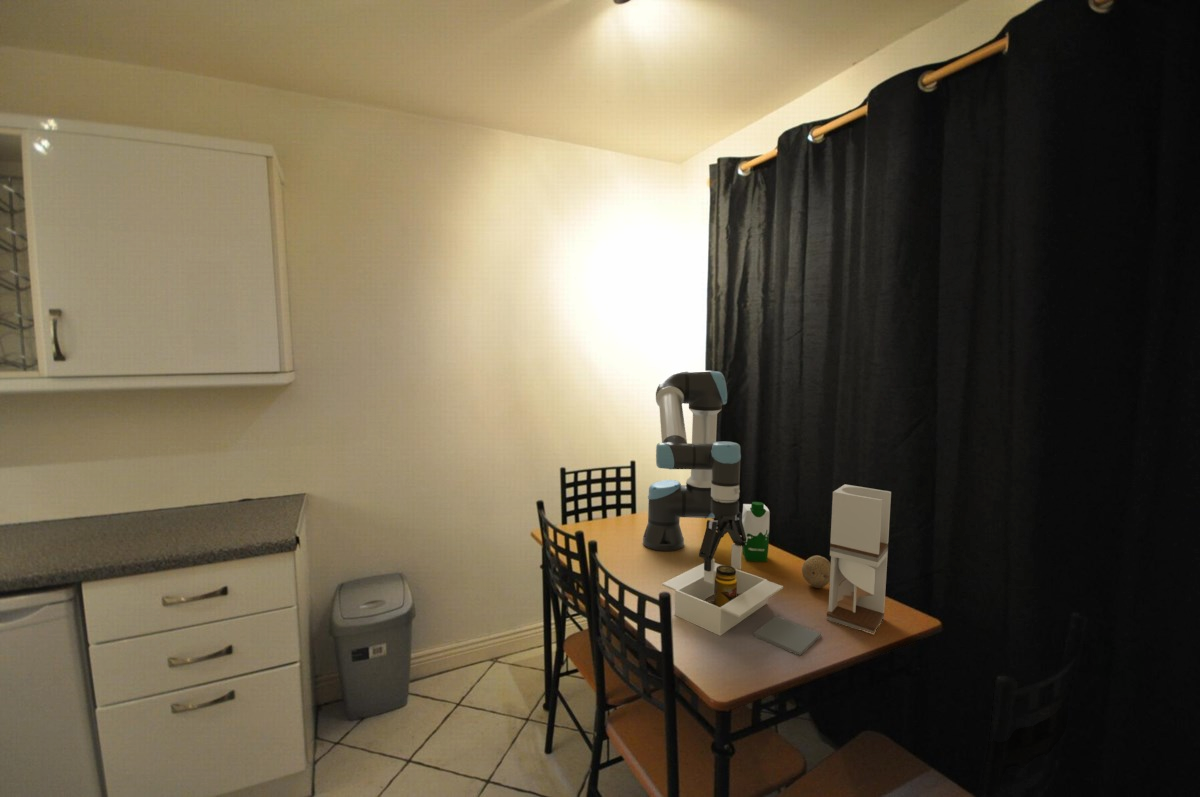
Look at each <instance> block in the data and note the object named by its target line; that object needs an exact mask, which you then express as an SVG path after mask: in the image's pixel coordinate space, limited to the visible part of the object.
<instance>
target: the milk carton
mask: <svg viewBox="0 0 1200 797" xmlns="http://www.w3.org/2000/svg"><path fill="white" fill-rule="evenodd" d="M770 514H771V512H770V509H769V508H768V506H766V505H765V503H763V502H761V501H752V502H751V503H743V504H742V512H741V520H742V524H743V527H744V531H745V535H746V542H745V543H746V544H745V546H742V547H741V554H742V555H743V557H744V559H745V561H746V562H760V563H761V562H762V563H767V562H768V555H769V554H768V553H769V547H770V546H769V541H770Z"/></svg>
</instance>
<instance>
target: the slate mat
mask: <svg viewBox="0 0 1200 797" xmlns="http://www.w3.org/2000/svg"><path fill="white" fill-rule="evenodd" d="M820 636H821V637H822V633H821V632H819V631H816V630H814V629H811V628H809V627H805V626H803V625H801V624H798V623H795V622H792V621H790V620H787V619H785V618H782V617H780V616H777V615H775V616H774V617H773V618H772V619H770V620H769V621H768V622H766V623H764V624H763V625H762V626H761V627H759V628H758V629H757V630H756V631H754V632H753V637H756V638H757V639H760V640H762V641H764V642H767V643H769V644H771V645H774V646H776V647H778V648H781V649H783V650H785V649H786V651H788V652H790V651H791V652H790V653H792V652H793V653H792V654H795V653H796V654H795V655H797V654H799V655H801V654H802V653H803V652H804V651H805V650H806V649H807V648H808V647H809V648H810V647H812V645H814V644H815V643H816V642H817V641H818V640H819V639H820V638H821V637H820ZM819 637H820V638H819ZM818 638H819V639H818ZM817 639H818V640H817ZM816 640H817V641H816ZM815 641H816V642H815ZM814 642H815V643H814ZM809 648H808V649H809ZM808 649H807V650H808ZM807 650H806V651H807ZM806 651H805V652H806ZM805 652H804V653H805ZM804 653H803V654H804ZM799 655H798V656H799ZM801 656H802V655H801Z"/></svg>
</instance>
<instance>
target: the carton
mask: <svg viewBox="0 0 1200 797" xmlns="http://www.w3.org/2000/svg"><path fill="white" fill-rule="evenodd" d="M721 565H722V564H719V563H717V562H715V572H714V583H715V576H716V572H717V571H716V569H717V567H718V566H721ZM734 569H735V570H736V579H737V594H738V596H737V597H736V598H734V599H733V600H731V601H730V602H728V603H726V604H725V605H723V606H721V607H718V606H715V605H713V604H711V603H708V601H706V599H708V598H710V597H711V596H714V583H713V584H712V583H709V582H706V581H704V562H702V563H701V564H698V565H697V566H695V567H693V568H690V569H688V570H687V571H684V572H682V573H681V574H679V575H676V576H674V577H673V578H670V579H668V580H667V581H664V582H662V583H661V586H662V587H665V588H667V589H669V590H672V591H674V593H675V594H674V616H676V617H678V618H680V619H682V620H685V621H687V622H689V623H691V624H694V625H696V626H698V627H700V628H702V629H705V630H706V631H709V632H711V633H713V634H715V635H718V636H720V637H721V636H722V635H723V634H725V633H726V632H727V631H729V630H731V629H732V628H734V626H736V625H738V624H739V623H741V622H742V621H744V620H745V619H747V617H749V616H751V615H752V614H753V613H755V612H756V611H758V610H759V609H761V608H762V607H763V606H765V605H767V603H768V601H767V600H768V599H770V598H771V597H772V596H774V595H775V594H777V593H778V592H779V591H781V590H782V589H784V586H783V585H781V584H777V583H776V582H773V581H769V580H768V579H766V578H763V577H761V576H758V575H755V574H752V573H749V572H747V571H743V570H741V569H736V568H734Z"/></svg>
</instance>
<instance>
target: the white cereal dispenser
mask: <svg viewBox="0 0 1200 797" xmlns="http://www.w3.org/2000/svg"><path fill="white" fill-rule="evenodd" d="M891 499H892V491H889V490H882V489H876V488H870V487H863V486H857V485H851V484H845V483H844V484H843V485H842V486H839V487H838V488H837V489H835V490H834V491H832V501H831V503H832V504H831V521H830V522H831V523H830V527H831V528H830V544H829V545H830V546H829V557H830V563H831V569H830V582H829V593H828V611H827V612H826V621H828V620H830V621H829V622H831V621H833V622H832V623H834V622H836V623H835V624H837V623H839V624H838V625H840V624H843V625H847V626H849V627H853V628H857V629H861V630H865V631H868V632H871V633H874V632H875V630H876V629H877V627H878V626H879V624H880V623H881V621H882V619H883V618H884V619H885V603H886V589H887V588H886V585H887V571H888V570H887V569H888V568H887V567H888V555H889V554H888V553H889V536H890V520H891V519H890V518H891V501H892V500H891ZM882 622H883V621H882ZM881 624H882V623H881ZM843 625H842V626H843ZM849 627H848V628H849ZM879 627H880V626H879ZM877 630H878V629H877Z"/></svg>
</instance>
